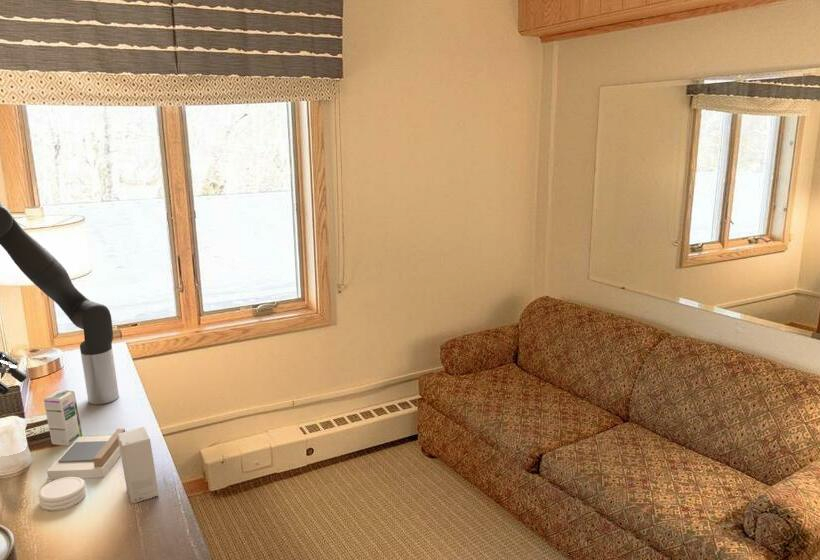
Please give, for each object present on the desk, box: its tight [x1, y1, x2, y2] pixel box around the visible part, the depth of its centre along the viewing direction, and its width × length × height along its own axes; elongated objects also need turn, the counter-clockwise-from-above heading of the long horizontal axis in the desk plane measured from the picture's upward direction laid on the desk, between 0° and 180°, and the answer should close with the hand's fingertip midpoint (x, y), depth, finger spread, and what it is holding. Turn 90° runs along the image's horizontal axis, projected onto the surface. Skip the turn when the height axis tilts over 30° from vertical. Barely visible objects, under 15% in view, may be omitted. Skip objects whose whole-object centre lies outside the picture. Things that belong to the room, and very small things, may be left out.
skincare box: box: [117, 426, 160, 504], centre depth 155 cm, size 8×7×16 cm
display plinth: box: [46, 428, 126, 481], centre depth 172 cm, size 18×14×5 cm
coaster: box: [38, 477, 87, 512], centre depth 154 cm, size 10×10×4 cm
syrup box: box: [43, 389, 83, 447], centre depth 181 cm, size 6×6×14 cm
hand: (16, 385), depth 178 cm, fingers open, 8 cm apart
